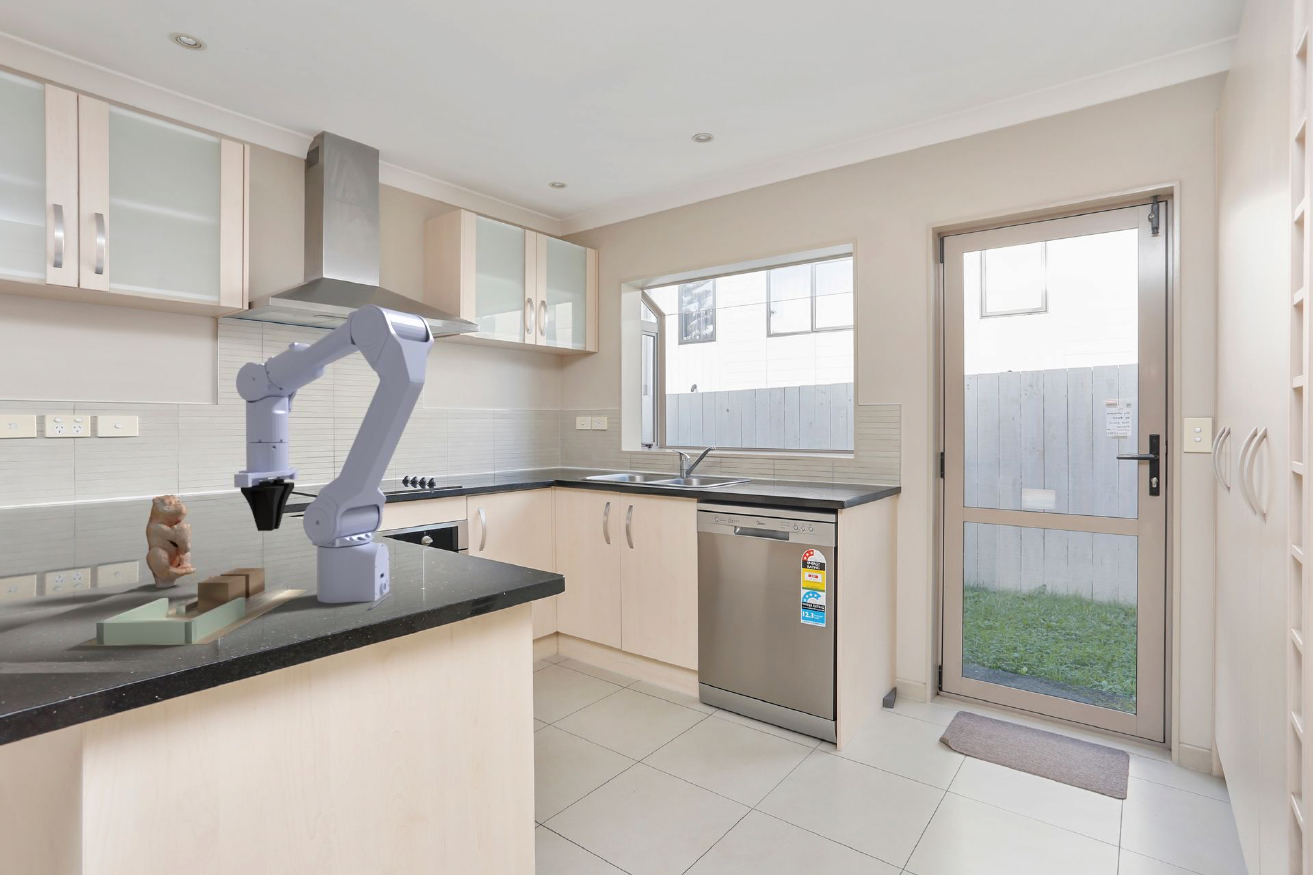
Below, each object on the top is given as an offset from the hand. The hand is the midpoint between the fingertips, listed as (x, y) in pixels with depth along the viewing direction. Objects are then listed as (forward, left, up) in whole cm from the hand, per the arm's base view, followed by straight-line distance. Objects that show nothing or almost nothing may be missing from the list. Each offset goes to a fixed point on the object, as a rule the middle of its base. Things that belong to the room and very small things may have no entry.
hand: (268, 529), depth 103 cm
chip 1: (0, +12, -9) cm, 15 cm away
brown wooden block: (0, +7, -9) cm, 11 cm away
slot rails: (0, +8, -9) cm, 12 cm away
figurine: (+16, -2, -10) cm, 19 cm away
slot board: (0, +15, -10) cm, 18 cm away
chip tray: (0, +21, -9) cm, 23 cm away
